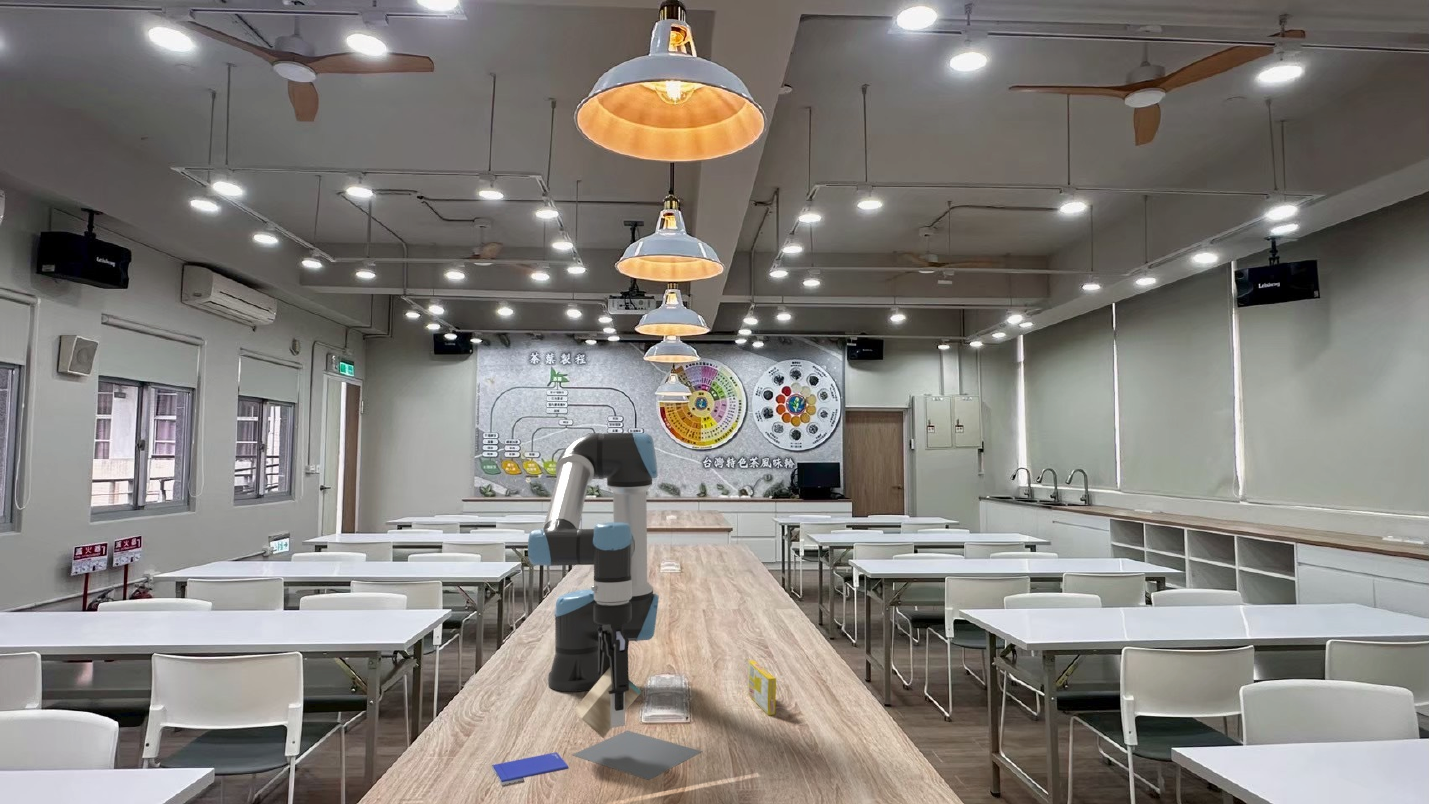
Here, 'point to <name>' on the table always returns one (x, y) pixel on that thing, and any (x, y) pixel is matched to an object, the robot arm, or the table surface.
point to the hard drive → (528, 767)
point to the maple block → (602, 704)
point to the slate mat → (637, 754)
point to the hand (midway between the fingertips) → (612, 720)
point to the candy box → (762, 687)
